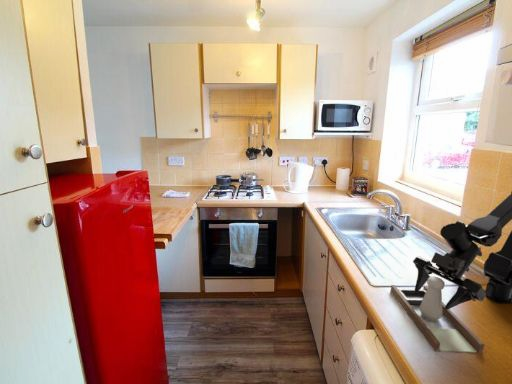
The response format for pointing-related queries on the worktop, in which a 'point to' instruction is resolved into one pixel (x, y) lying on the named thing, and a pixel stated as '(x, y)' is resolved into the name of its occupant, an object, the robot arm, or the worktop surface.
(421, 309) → the salt shaker
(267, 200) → the worktop surface
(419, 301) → the black tray
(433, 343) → the walnut channel
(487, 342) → the worktop surface
